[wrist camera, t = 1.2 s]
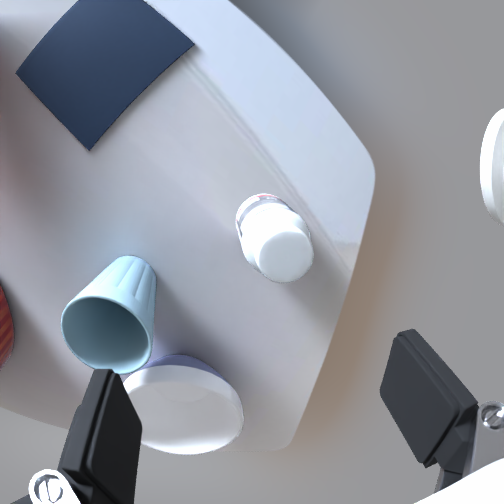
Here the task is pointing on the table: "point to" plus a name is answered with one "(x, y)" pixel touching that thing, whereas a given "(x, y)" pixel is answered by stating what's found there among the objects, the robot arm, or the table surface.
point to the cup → (114, 317)
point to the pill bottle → (274, 238)
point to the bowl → (184, 406)
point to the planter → (5, 330)
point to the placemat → (100, 62)
